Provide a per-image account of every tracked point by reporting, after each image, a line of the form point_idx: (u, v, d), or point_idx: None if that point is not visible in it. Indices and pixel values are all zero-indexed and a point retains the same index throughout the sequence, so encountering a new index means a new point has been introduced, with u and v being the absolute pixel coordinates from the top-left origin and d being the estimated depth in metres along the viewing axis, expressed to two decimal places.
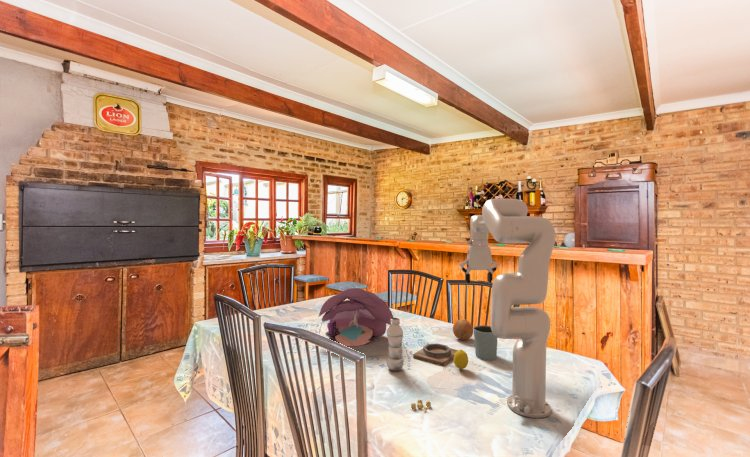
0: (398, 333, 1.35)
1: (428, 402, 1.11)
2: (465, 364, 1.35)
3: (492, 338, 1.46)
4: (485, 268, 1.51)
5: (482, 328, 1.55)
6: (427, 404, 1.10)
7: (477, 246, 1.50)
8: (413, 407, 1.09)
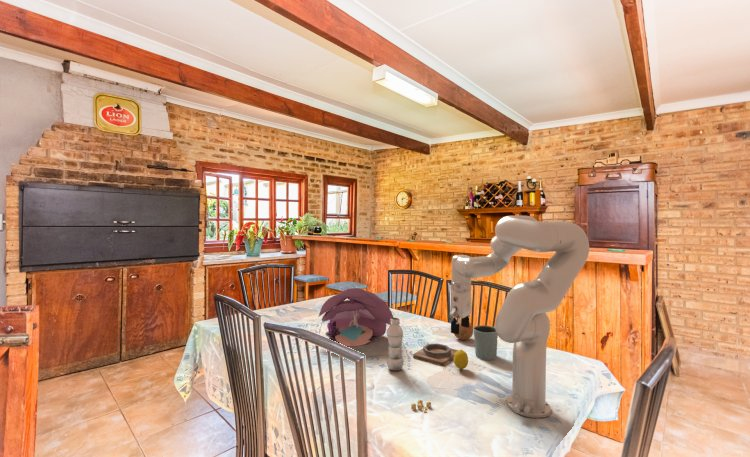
0: (398, 333, 1.35)
1: (428, 402, 1.10)
2: (465, 364, 1.35)
3: (492, 338, 1.46)
4: (469, 313, 1.37)
5: (482, 328, 1.55)
6: (427, 404, 1.10)
7: (467, 291, 1.33)
8: (413, 407, 1.09)
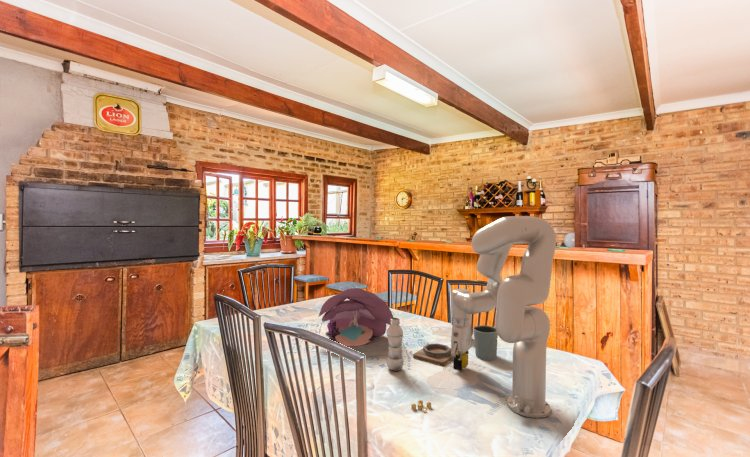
0: (398, 333, 1.35)
1: (428, 403, 1.10)
2: (465, 364, 1.35)
3: (492, 338, 1.46)
4: (469, 347, 1.37)
5: (482, 328, 1.55)
6: (427, 405, 1.10)
7: (467, 326, 1.33)
8: (413, 408, 1.09)
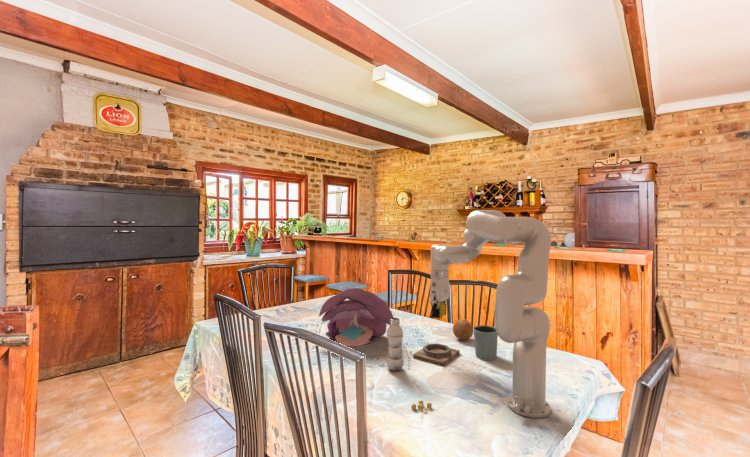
0: (398, 333, 1.35)
1: (429, 403, 1.10)
2: (443, 312, 1.47)
3: (492, 338, 1.46)
4: (447, 298, 1.49)
5: (482, 328, 1.55)
6: (428, 405, 1.09)
7: (444, 277, 1.45)
8: (413, 408, 1.08)
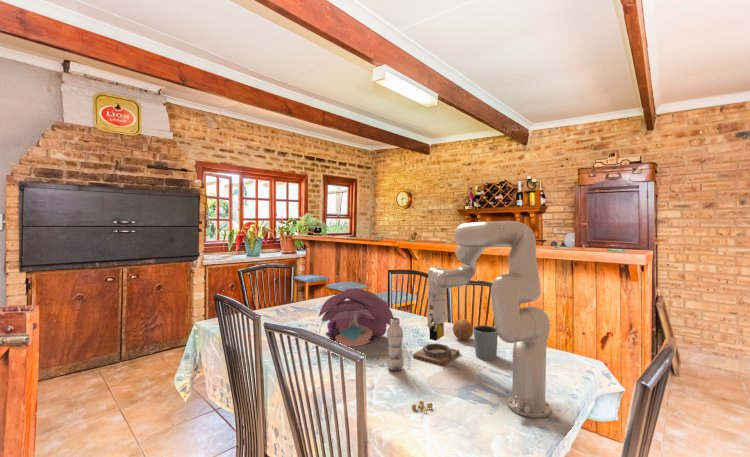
0: (398, 333, 1.35)
1: (429, 403, 1.10)
2: (440, 335, 1.49)
3: (492, 338, 1.46)
4: (444, 320, 1.51)
5: (482, 328, 1.55)
6: (428, 405, 1.09)
7: (441, 300, 1.47)
8: (413, 408, 1.08)
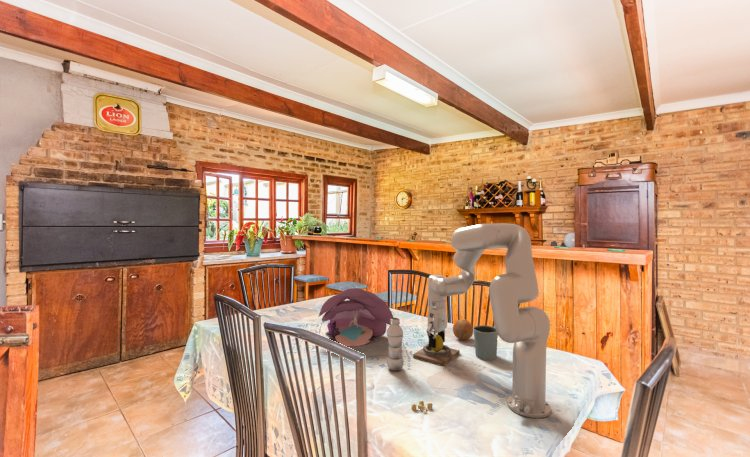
0: (398, 333, 1.35)
1: (429, 404, 1.09)
2: (440, 347, 1.48)
3: (492, 338, 1.46)
4: (444, 328, 1.51)
5: (482, 328, 1.55)
6: (428, 406, 1.09)
7: (441, 308, 1.47)
8: (413, 408, 1.08)
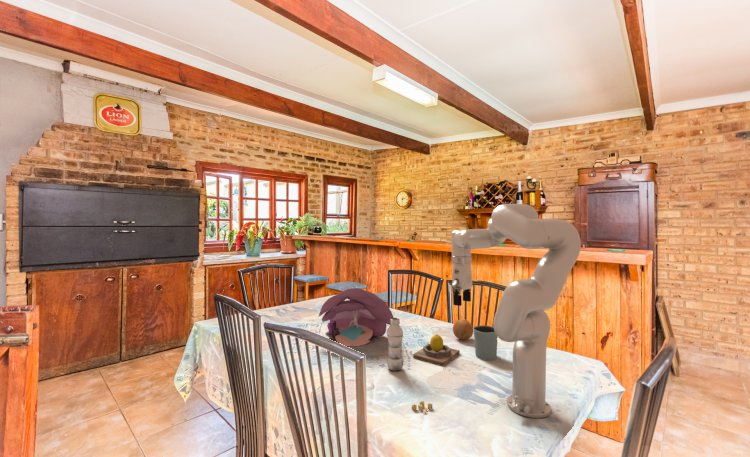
0: (398, 333, 1.35)
1: (430, 404, 1.09)
2: (440, 347, 1.48)
3: (492, 338, 1.46)
4: (470, 286, 1.41)
5: (482, 328, 1.55)
6: (428, 406, 1.09)
7: (467, 263, 1.38)
8: (414, 408, 1.08)
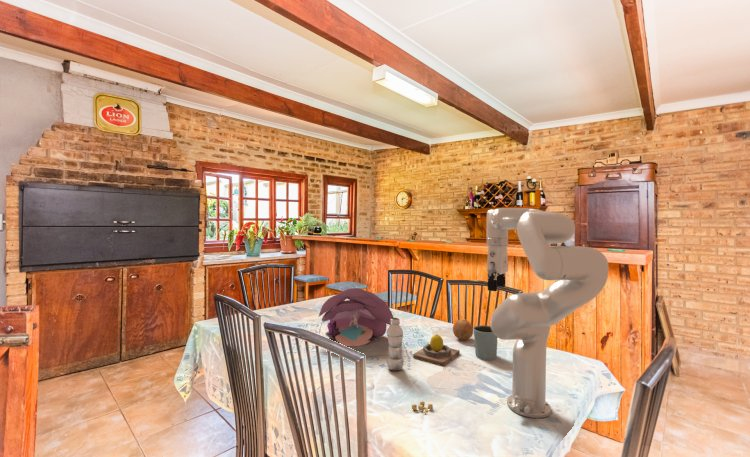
0: (398, 333, 1.35)
1: (430, 405, 1.09)
2: (440, 347, 1.48)
3: (492, 338, 1.46)
4: (506, 270, 1.30)
5: (482, 328, 1.55)
6: (429, 406, 1.09)
7: (504, 245, 1.26)
8: (414, 408, 1.08)
